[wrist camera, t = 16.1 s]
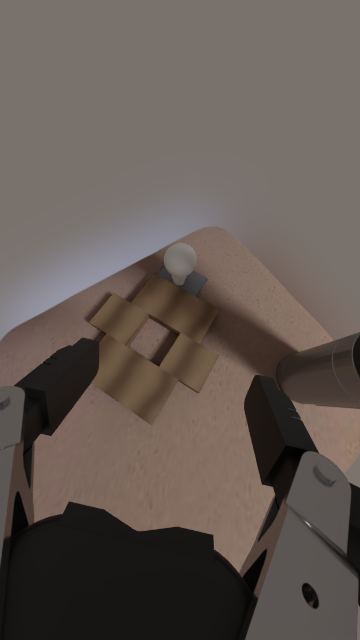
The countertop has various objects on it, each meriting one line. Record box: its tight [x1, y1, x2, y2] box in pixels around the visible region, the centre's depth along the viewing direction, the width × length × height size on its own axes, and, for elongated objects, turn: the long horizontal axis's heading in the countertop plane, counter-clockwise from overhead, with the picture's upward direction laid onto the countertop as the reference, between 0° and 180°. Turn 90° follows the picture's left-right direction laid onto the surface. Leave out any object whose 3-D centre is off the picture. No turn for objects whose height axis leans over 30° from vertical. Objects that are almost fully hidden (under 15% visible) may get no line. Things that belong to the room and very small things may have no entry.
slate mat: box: [158, 266, 207, 296], centre depth 45 cm, size 10×9×1 cm
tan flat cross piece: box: [89, 273, 219, 425], centre depth 39 cm, size 24×24×2 cm
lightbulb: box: [164, 243, 197, 286], centre depth 39 cm, size 6×6×11 cm
